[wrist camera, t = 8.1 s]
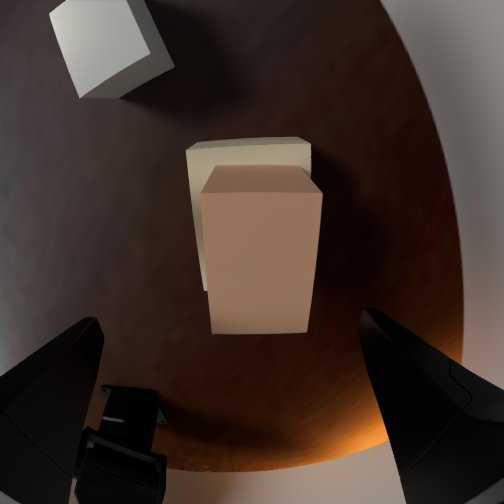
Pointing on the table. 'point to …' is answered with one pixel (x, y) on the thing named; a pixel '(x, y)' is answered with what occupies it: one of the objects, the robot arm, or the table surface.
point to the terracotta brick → (260, 247)
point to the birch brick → (238, 153)
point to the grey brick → (109, 45)
